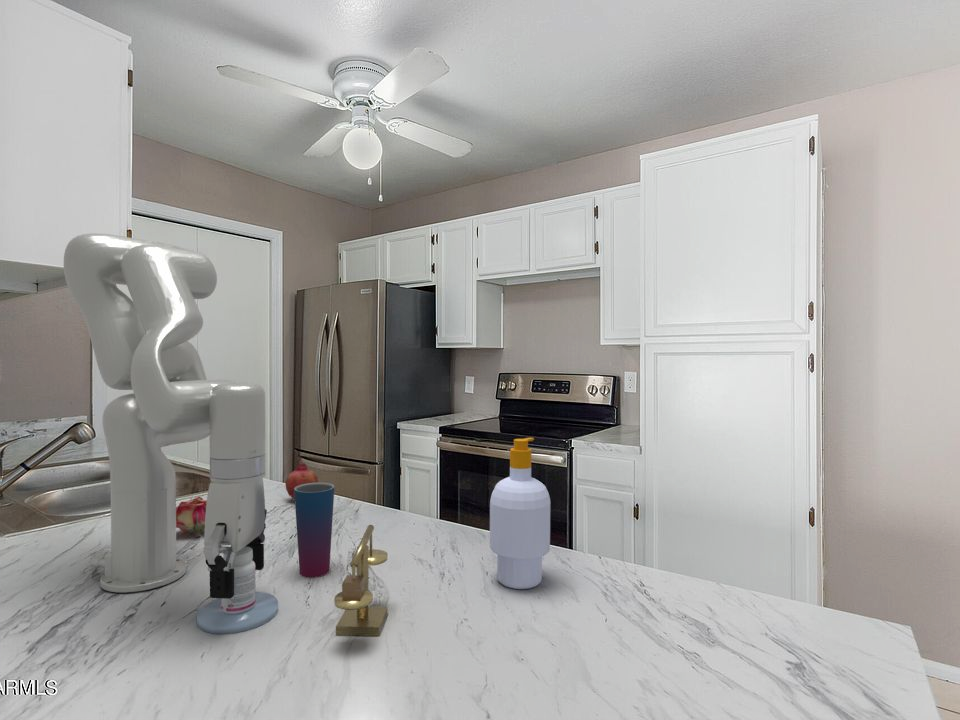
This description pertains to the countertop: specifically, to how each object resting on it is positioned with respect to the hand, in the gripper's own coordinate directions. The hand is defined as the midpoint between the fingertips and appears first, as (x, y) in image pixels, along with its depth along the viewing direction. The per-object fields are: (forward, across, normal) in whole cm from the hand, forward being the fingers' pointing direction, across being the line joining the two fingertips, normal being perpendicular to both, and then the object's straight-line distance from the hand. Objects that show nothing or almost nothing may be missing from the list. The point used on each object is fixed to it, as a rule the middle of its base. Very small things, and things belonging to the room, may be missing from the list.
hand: (238, 582), depth 82 cm
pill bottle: (+4, 0, 0) cm, 4 cm away
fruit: (+5, -60, -12) cm, 61 cm away
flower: (+5, -34, -26) cm, 43 cm away
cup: (+5, -16, +6) cm, 18 cm away
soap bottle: (+5, -14, +42) cm, 45 cm away
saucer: (+5, 0, 0) cm, 5 cm away
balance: (+5, +2, +19) cm, 20 cm away
